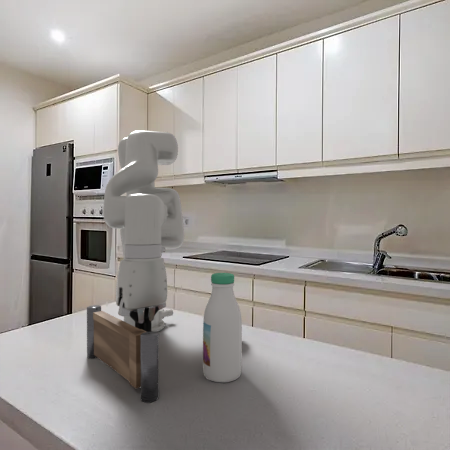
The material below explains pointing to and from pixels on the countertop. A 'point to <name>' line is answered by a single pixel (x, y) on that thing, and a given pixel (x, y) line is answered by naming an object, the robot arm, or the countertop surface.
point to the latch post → (149, 366)
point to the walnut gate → (118, 346)
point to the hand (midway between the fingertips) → (143, 339)
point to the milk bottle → (222, 331)
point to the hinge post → (91, 330)
